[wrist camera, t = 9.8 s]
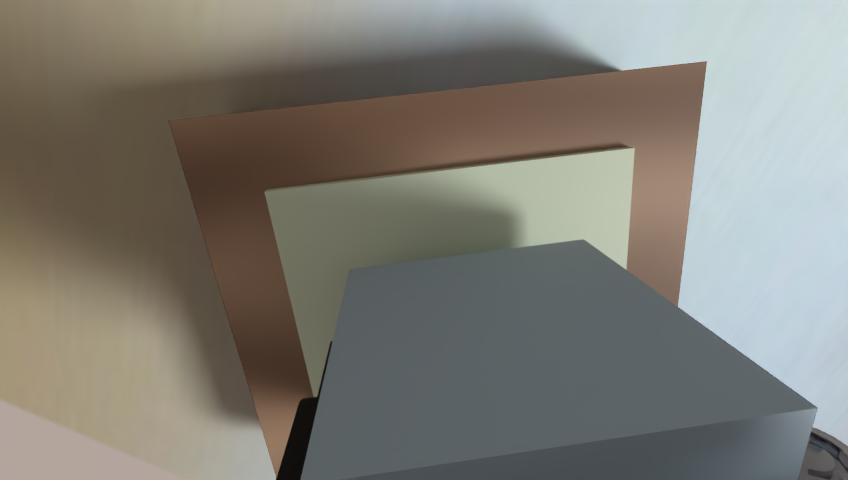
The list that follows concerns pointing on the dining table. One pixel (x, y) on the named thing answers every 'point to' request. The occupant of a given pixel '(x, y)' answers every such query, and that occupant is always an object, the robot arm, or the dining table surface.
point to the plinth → (429, 198)
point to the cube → (541, 379)
